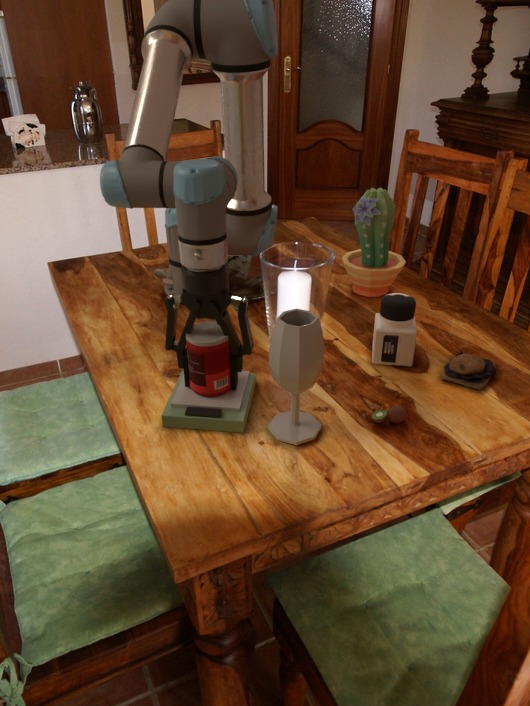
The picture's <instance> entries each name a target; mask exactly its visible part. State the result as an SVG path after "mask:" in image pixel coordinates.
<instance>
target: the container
mask: <svg viewBox="0 0 530 706" xmlns="http://www.w3.org/2000/svg"><path fill="white" fill-rule="evenodd" d="M416 306H417V301H416V299H415V298H414V297H413V296H411V295H409V294H406V293H403V292H402V293H401V292H392V293H387V294H385V295H383V296H382V297H381V299H380V306H379V307H380V308H379V312H376V313H375V317H374V323H373V324H374V325H373V336H372V344H371V347H372V349H371V363H372V364H374V365H384V366H385V365H386V366H398V367H409V368H411V367H413V365H414V364H413V363H414V356H415V350H416V343H417V337H418V330H417V329H418V328H417V322H416V315H415V313H416Z"/></svg>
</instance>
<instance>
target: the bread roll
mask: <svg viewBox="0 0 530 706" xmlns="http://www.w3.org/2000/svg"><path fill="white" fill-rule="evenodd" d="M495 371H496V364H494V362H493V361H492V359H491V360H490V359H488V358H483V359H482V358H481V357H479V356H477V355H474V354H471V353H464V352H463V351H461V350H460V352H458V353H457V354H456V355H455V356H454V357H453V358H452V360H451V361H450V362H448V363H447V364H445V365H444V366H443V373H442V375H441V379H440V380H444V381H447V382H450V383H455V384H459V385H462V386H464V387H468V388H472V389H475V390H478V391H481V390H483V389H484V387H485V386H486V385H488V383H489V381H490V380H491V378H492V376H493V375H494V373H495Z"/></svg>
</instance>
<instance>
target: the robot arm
mask: <svg viewBox="0 0 530 706" xmlns="http://www.w3.org/2000/svg"><path fill="white" fill-rule="evenodd" d="M142 37H143V38H142V41H141V46H140V47H141V48H140V49H141V50H140V52H141V55H142V58H143V61H142V67H141V71H140V75H139V78H138V83H137V88H136V92H135V96H134V101H133V105H132V108H131V114H130V116H129V122H128V125H127V126H128V127H127V130H126V134H125V139H124V143H123V146H122V152H121V155H120V158H119V160H118V159H114V160H108V161H106V162H104V164H103V165H102V167H101V169H100V175H99V187H100V191H101V195H102V198H103V199H104V202H105V203H106V204H107V205H108V206H110V207H114V208H121V209H122V208H123V209H130V210H131V209H165V210H164V211H165V212H164V222H165V223H164V228H165V235H166V245H167V256H168V268H167V272H166V276H165V278H164V277H162V283H163V284H164V285H163V290H164V297H165V299H164V306H165V308H166V311H167V313H166V314H167V315H166V329H165V346H164V348H165V350H166V351H172V352H175V354H176V359H177V367H178V368H179V370H180V369H181V370H183V369H184V380H185V387H190V379H189V368H188V357H187V346H186V334H190V332H191V330H192V328H193V326H194V325H195V324H196V320H198V319H199V320H204V319H208V320H212V321H216V322H217V324H218V325H219V326H220V327H221V330H222V332H223V334H224V336H228V339H229V346H230V348H231V350H232V355H231V357H230V365H231V388H232V390H236V388H237V384H238V372H242V371H243V369H244V356H245V355H247V356H251V355H252V353H253V351H254V345H255V344H254V339H253V334H252V329H251V324H250V318H249V314H248V313H249V312H248V304H249V300H250V299H249V297H248V295H242V296H241V297H240V296H237V295H236V296H235V295H233V294H232V292H231V290H230V281H229V280H230V279H229V277H230V276H229V265H228V263H227V262H228V261H229V260H228V256H230V255H236V256H248V257H250V256H251V257H255V256H261V255H260V253H261V252H263V251H264V250H266V249H268V248H270V247H272V246H274V241H275V235H276V228H277V222H278V215H279V214H278V213H279V206H278V205H275V204H272V196H271V195H270V194H269V193H268V192H267V191H266V189H265V188H266V187H265V186H266V185H265V130H264V127H265V126H264V125H265V124H264V76H265V75H266V74H267V72H268V71H269V70H270V69H271V60H273V59H275V58H276V57H277V56H278V53H279V52H278V51H279V45H278V28H277V21H276V12H275V7H274V2H273V0H168V1H166V2H165V3H164V4H163V5H162V6H160V8H159V9H158V10H157V12H156V13H155V14H154V15H153V17H152V18H151V20H150V22H149V23H148V25H147V27H146V29H145V31H144V35H143V36H142ZM193 60H211V69H212V70H211V71H212V72H213V73H214V74H215V75H216V76H217V77H218V78H219V80H220V96H221V113H222V130H223V131H222V132H223V147H224V148H223V149H224V157H223V156H216V155H215V156H209V157H206V158H195V159H187V160H183V161H182V160H175V161H174V160H171V161H170V160H167V156H168V151H169V147H170V142H171V141H170V140H171V136H172V131H173V127H174V121H175V118H176V112H177V107H178V102H179V97H180V93H181V87H182V82H183V78H184V73H185V72H186V71H188V69H189V68H190V66H191V64H192V61H193ZM272 248H273V247H272ZM181 304H182V305H184V307H185V308H186V309H187V310H188V311H189V313H188V316H187V319H186V322H185V325H184V327H183V330H182V333H181V335H180V338H179V340H178V341H177V326H178V313H179V307H180V305H181ZM230 305H232V306H233V309H234V311H235V312H237V321H238V326H239V330H240V336H241V339H240V337H239V335H238V333H237V331H236V328H235V327H234V324H233V323H232V320H231V319H230V317H229V313H228V310H227V309H228V307H229V306H230ZM241 341H242V342H241Z"/></svg>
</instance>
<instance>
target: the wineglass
mask: <svg viewBox="0 0 530 706" xmlns="http://www.w3.org/2000/svg"><path fill="white" fill-rule="evenodd" d="M321 324H322V323H321V321H320V318H319V316H318V315H316V314H315V313H314V312H313V311H311V310H307V309H301V308H293V309H289V310H288V309H287V310H285V311H282V312H281V313H280V314H279V316H277V317H276V320H275V323H274V326H273V329H272V332H271V337H270V338H271V339H270V344H269V349H268V367H269V369H270V372H271V375H272V379H273V381H274V382H275V383H276V384H277V385H278V386H279V387H280V388H281V389H283V390H284V391H286V392H288V393H289V394H290V409H289V410H286V411H282V412H279V413H276V414H275V415H274V417H272V419H271V420H270V421H269V423H268V424H267V426H266V429H267V430H268V431H269V433H270V434H272V436H273V437H274V438H275V439H276V441H280V442H283V443H286V444H290V445H293V446H300V445H302V444H306V443H309V442H311V441H314V440H315V439H316V438H317V436H318V434H319V433H320V431H321V429H322V428H323V425H322V424H321V422H320V421H318V419H316V417H314V416H313V414H312V413H308V412H306V411H305V412H304V411H300V400H301V398H300V397H301V394H303V393H305V392H307V391H308V390H310V389H312V388H313V387H314V386H315V384H316V383H317V382H318V380H319V378H320V376H321V373H322V370H323V367H324V364H325V352H326V351H325V350H326V348H325V341H324V332H323V327H322V325H321Z"/></svg>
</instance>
